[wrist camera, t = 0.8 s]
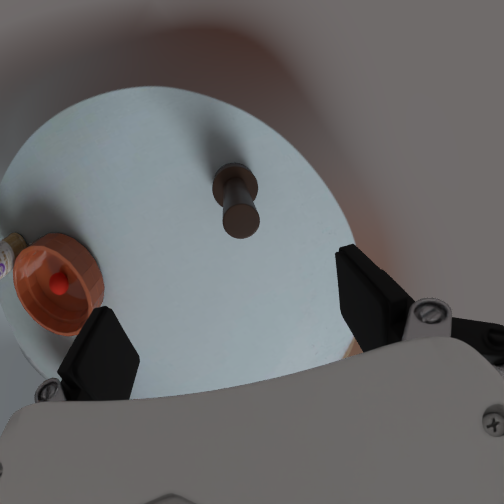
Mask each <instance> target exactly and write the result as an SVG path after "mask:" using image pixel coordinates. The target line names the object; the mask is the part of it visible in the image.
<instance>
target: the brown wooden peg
mask: <svg viewBox="0 0 504 504" xmlns="http://www.w3.org/2000/svg"><path fill="white" fill-rule="evenodd" d="M212 191H213V195H214V198H215V200H216V201H217V203H218V204H219V205H221V206H222V207H223V227H224V229H225V231H226V232H227V233H228V234H229V235H230V236H232V237H234V238H238V239H244V238H248V237H250V236H252V235H253V234H254V233H255V232H256V231H257V229H258V227H259V223H260V218H259V214H258V212H257V210H256V207H255V205H254V202H253V201H254V200H255V198H256V196H257V192H258V184H257V180H256V178H255V176H254V175H253V174H252V172H251V171H250V170H249V169H248V168H247V167H246V166H244V165H242V164H240V163H229V164H226V165H224V166H223V167H221V168H220V169H219V170H218V172H217V173H216V175H215V178H214V182H213V186H212Z"/></svg>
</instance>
